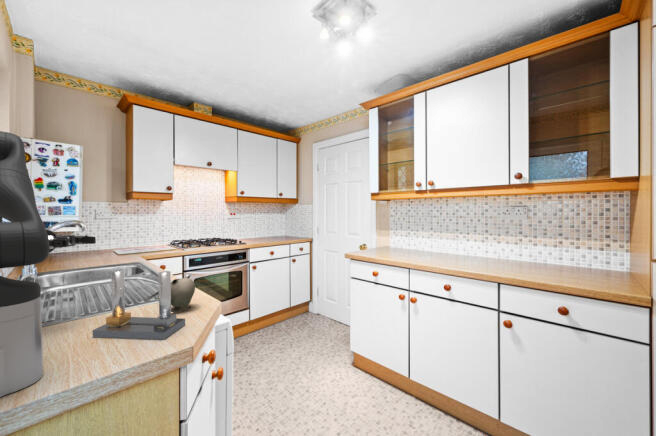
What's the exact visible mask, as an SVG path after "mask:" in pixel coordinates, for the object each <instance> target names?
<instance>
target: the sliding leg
mask: <svg viewBox="0 0 656 436" xmlns="http://www.w3.org/2000/svg"><path fill="white" fill-rule="evenodd" d="M110 273H111V275H110V277H111V280H110V281H111V313H112V314H111V315H109V316H107V317H105V324H106V325H120V324H122V323H124V322H126V321H128V320H130V319H131V317H132V312H128V311H127V312H125V311H126V309H125V308H126V304H125V303H126V301H125V300H126V299H125V298H126V297H125V271H124V270H123V269H122V270H114V271H111V272H110Z"/></svg>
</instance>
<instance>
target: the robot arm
mask: <svg viewBox="0 0 656 436" xmlns="http://www.w3.org/2000/svg"><path fill="white" fill-rule="evenodd" d="M25 150H26V149H25V145H24V142H23V139H22V138H21V137H20V136H18V135H17V134H16V133H15V134H14V133H11V132H8V131H2V130H0V269H10V268H17V267H19V268H20V267H27V266H33V265H37V264H41V263H42V262H44V261H46V259H47V258H48V257H49V254H50V253H52V252H53V251H54V250H55V249H59V248H60V249H61V248H69V247H75V246H76V245H88V244H89V245H92V244H94V245H95V244H96V243H97V242H96V241H97V240H96V239H97V238H96V236H90V235H87V234H85V235H76V234H66V235H65V234H56V233H55V232H54V231H52V230H50V229H48V228H47V229H46V227H45V225H44V222H43V219H42V216H41V215H40V212H39V210H38V207H37V203H36V196H35V192H34V191H35V190H34V188H33V183H32V180H31V177H30V175H29V171H28V168H27V162H26V161H27V160H26V159H27V158H26V151H25ZM3 219H5V220H6V222H5V221H3ZM41 290H42V289H41V285H40V284H39V283H37V282H36V281H31V280H21V279H20V280H19V279H12V278H9V277H6V276H2V275H0V398H1V397H4V396H6V395H9V394H12V393H15V392H18V391H20V390H23V389H25V388H27V387H29V386H31V385H33V384H35V383H36V382H38V381H39V380H41V378H42V377H43V376H44V362H43V361H44V360H43V359H44V358H43V357H44V355H43V354H44V353H43V329H42V327H43V325H42V321H43V320H42V295H41V294H42V291H41Z"/></svg>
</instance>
